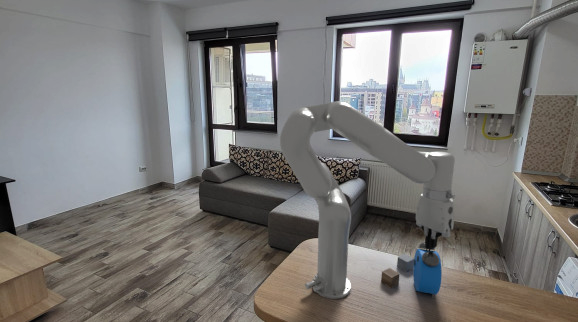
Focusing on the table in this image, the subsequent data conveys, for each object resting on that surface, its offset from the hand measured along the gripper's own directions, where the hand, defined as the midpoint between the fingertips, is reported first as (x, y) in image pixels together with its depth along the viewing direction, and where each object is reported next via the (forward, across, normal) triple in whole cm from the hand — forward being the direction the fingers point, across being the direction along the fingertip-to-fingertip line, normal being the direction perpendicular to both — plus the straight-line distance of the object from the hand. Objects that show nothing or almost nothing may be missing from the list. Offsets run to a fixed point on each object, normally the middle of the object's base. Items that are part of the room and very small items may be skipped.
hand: (430, 247), depth 92 cm
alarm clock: (+15, 0, +1) cm, 15 cm away
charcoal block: (+15, +11, -4) cm, 19 cm away
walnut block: (+15, +8, +8) cm, 19 cm away
